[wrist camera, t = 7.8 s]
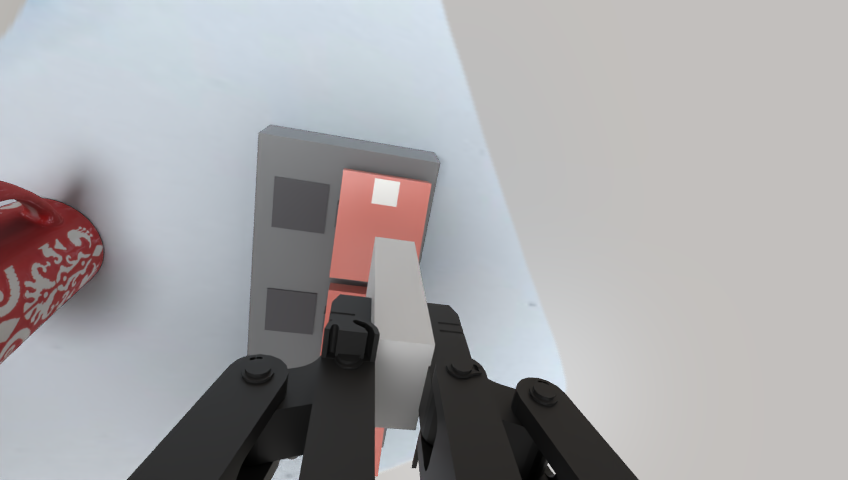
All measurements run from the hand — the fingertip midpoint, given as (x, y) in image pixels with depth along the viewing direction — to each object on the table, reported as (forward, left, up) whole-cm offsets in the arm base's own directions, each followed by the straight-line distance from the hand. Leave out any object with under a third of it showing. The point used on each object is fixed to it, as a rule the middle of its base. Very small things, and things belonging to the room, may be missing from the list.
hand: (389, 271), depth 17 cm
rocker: (0, -3, -12) cm, 13 cm away
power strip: (-2, -13, -18) cm, 23 cm away
